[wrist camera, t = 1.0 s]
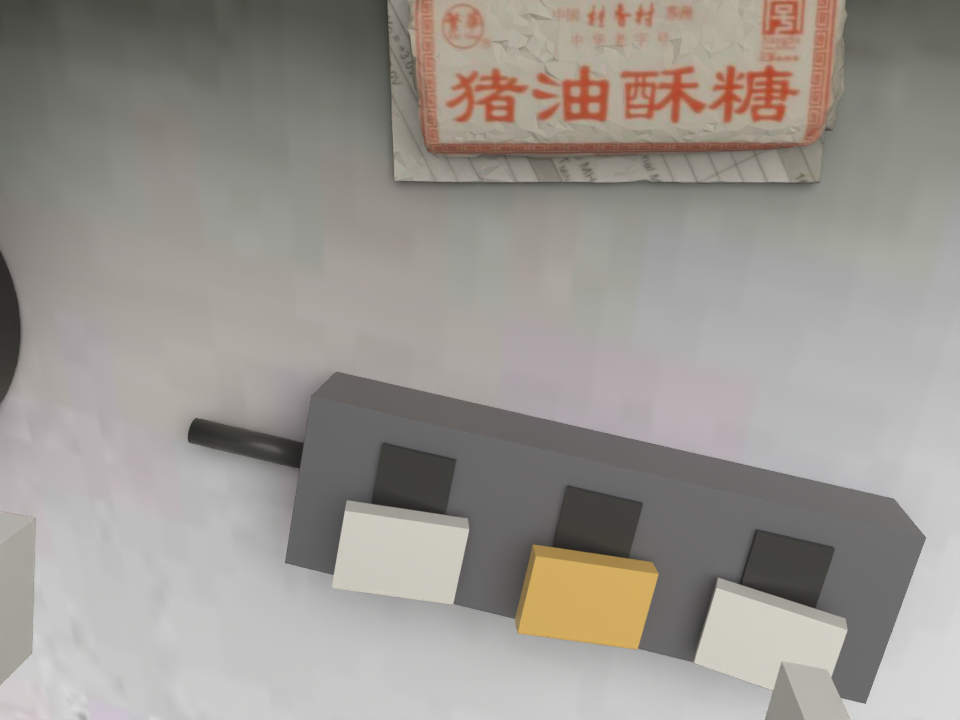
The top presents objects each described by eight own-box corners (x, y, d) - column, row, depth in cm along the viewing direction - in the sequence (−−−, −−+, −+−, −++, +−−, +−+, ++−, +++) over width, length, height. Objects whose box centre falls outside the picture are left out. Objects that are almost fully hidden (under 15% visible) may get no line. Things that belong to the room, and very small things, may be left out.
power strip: (194, 497, 45) (154, 534, 41) (213, 344, 43) (173, 366, 39) (840, 652, 43) (867, 708, 39) (894, 499, 41) (928, 540, 37)
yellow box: (515, 619, 39) (517, 633, 38) (532, 544, 38) (535, 556, 37) (632, 635, 39) (637, 649, 38) (652, 562, 38) (658, 574, 37)
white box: (333, 575, 39) (331, 587, 38) (346, 500, 38) (344, 510, 37) (452, 592, 40) (453, 604, 39) (468, 518, 39) (469, 529, 38)
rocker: (695, 651, 39) (693, 663, 38) (717, 577, 38) (716, 587, 37) (819, 693, 38) (820, 707, 37) (845, 618, 37) (847, 630, 36)
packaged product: (874, -104, 31) (846, 189, 34) (837, -75, 36) (815, 181, 38) (362, -88, 33) (372, 188, 36) (390, -62, 38) (396, 181, 40)
